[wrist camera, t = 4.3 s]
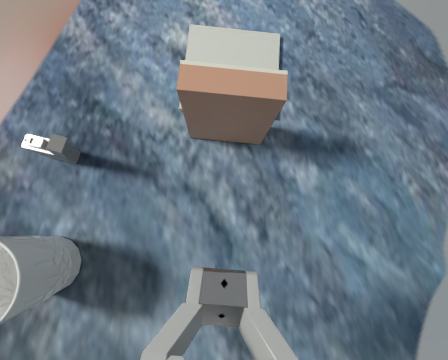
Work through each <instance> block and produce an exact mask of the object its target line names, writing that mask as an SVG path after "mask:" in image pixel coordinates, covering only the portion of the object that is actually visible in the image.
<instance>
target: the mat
mask: <svg viewBox="0 0 448 360" xmlns="http://www.w3.org/2000/svg"><path fill="white" fill-rule="evenodd" d="M279 47H280V34H275V33H266V32H257V31H247V30H238V29H229V28H219V27H210V26H201V25H191V24H190V28H189V36H188V43H187V51H186V59H185V60H187V61H196V62H206V63H216V64H226V65H235V66H245V67H255V68H265V69H274V70H279ZM179 110H181V111H183V110H182V107H181V103H180V105H179Z"/></svg>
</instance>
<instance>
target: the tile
mask: <svg viewBox="0 0 448 360" xmlns="http://www.w3.org/2000/svg"><path fill="white" fill-rule="evenodd" d="M287 74H288V71H284V70H274V69H265V68H255V67H245V66H235V65H226V64H216V63H206V62H196V61H187V60H180V67H179V75H178V82H177V93H178V96H179V100H180V103H181V107H182V110H183V113H184V117H185V120H186V124H187V127H188V131H189V134H190V138H198V139H208V140H219V141H230V142H240V143H251V144H261V142H262V141H263V139H264V137H265V136H266V134H267V132H268V131H269V129H270V127H271V126H272V124H273V122H274V120H275V119H276V117H277V115H278V114H279V112H280V110H281V109H282V107H283V105H284V104H285V102H286V100H287Z"/></svg>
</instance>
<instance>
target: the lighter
mask: <svg viewBox="0 0 448 360" xmlns="http://www.w3.org/2000/svg"><path fill="white" fill-rule="evenodd" d="M21 147H22V148H25V149H28V150H30V151H33V152H35V153H38V154H41V155H43V156H46V157H48V158H53V159H57V160H61V161H65V162H69V163H74V164H76V163H77V162H78V159H79V156H80V154H81V153H80V152H79V151H77V150H75V149H73V148H72V144H71V143H70V141H69V140H68V138H66V137H63V136H60V135H56V134H53V133H52V135H51V137H50V139H47V138H43V137H39V136H35V135H31V134H26V135H25V137H24V140H23V142H22V145H21Z"/></svg>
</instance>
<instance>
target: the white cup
mask: <svg viewBox="0 0 448 360" xmlns="http://www.w3.org/2000/svg"><path fill="white" fill-rule="evenodd" d="M81 261H82V260H81V256H80V252H79V249H78V247H77V246H76V245H75V244H74V243H73V242H72V241H71V240H69V239H66V238H63V237H61V236H54V237H45V236H2V237H0V325H1V324H2V323H4V322H6V321H8V320H10V319H12V318H14V317H15V316H17V315H19V314H21V313H23V312H25V311H27V310H29V309H30V308H32V307H34V306H36V305H38V304H39V303H41V302H43V301H44V300H46V299H48V298H50V297H51V296H52V295H54V294H55V293H57V292H59V291H61V290H62V289H64V288H66V287H67V286H69V285H71V283H72V282H73V281H74V279H75V278H76V276H77V275H78V274H79V270H80V266H81Z"/></svg>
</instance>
